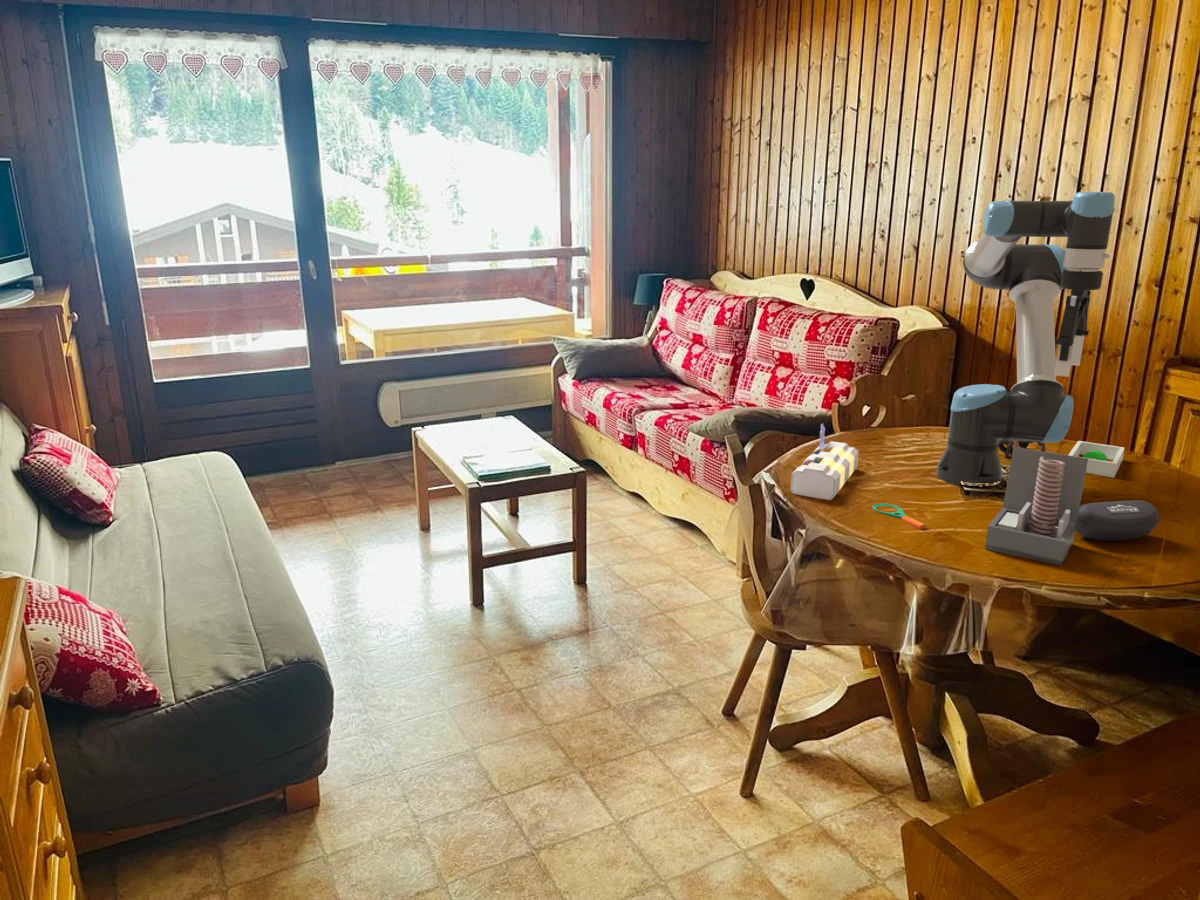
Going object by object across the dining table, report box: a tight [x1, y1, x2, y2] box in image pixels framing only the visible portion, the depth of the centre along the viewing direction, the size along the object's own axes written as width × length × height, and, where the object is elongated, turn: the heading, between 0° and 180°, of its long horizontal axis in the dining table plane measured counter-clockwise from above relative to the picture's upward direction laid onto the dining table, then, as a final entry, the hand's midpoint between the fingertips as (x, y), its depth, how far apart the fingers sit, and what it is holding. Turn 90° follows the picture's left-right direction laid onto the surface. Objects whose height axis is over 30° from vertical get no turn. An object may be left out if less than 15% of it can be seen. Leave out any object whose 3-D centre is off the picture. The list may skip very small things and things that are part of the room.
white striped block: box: [790, 423, 859, 501], centre depth 213 cm, size 25×10×13 cm, turn 152°
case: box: [984, 447, 1089, 566], centre depth 176 cm, size 14×16×18 cm
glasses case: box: [1075, 499, 1160, 542], centre depth 181 cm, size 18×10×8 cm, turn 98°
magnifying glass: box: [872, 502, 927, 530], centre depth 193 cm, size 15×6×2 cm, turn 21°
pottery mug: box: [998, 440, 1047, 458], centre depth 230 cm, size 12×9×8 cm
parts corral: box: [1068, 440, 1125, 479], centre depth 226 cm, size 11×17×4 cm, turn 144°
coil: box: [1029, 456, 1065, 538], centre depth 174 cm, size 5×5×18 cm
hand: (1067, 370), depth 186 cm, fingers open, 13 cm apart
